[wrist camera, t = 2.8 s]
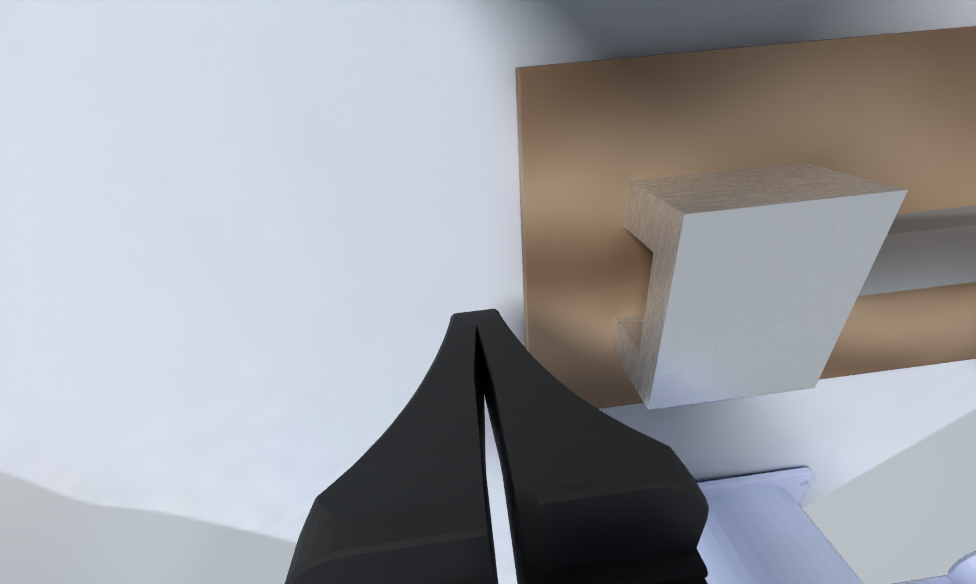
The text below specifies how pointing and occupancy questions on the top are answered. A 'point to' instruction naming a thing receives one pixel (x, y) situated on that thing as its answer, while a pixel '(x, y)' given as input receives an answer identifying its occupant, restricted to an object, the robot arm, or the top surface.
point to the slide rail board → (739, 145)
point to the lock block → (747, 278)
